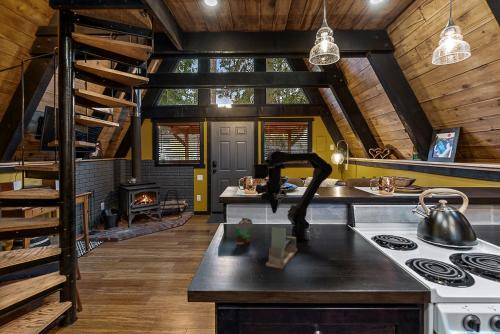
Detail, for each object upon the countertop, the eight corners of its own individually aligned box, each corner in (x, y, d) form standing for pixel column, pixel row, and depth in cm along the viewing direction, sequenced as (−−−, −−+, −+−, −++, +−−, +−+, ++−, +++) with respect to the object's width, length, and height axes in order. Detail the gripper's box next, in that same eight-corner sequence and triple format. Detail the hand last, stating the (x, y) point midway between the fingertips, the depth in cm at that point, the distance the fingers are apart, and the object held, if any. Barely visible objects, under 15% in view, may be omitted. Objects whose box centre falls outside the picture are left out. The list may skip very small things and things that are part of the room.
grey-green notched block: (273, 253, 101) (273, 226, 101) (286, 255, 99) (286, 227, 99) (270, 256, 99) (270, 228, 98) (283, 258, 97) (284, 229, 96)
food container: (249, 248, 115) (250, 224, 114) (235, 247, 116) (235, 223, 116) (255, 239, 127) (255, 218, 126) (242, 238, 128) (242, 217, 128)
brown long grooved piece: (283, 248, 114) (283, 234, 114) (297, 250, 112) (297, 235, 111) (265, 265, 96) (266, 248, 96) (282, 268, 94) (282, 250, 93)
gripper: (265, 176, 135) (265, 208, 135) (249, 179, 118) (249, 215, 118) (287, 177, 130) (286, 210, 130) (274, 180, 113) (273, 217, 113)
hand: (274, 213), depth 123 cm, fingers closed
